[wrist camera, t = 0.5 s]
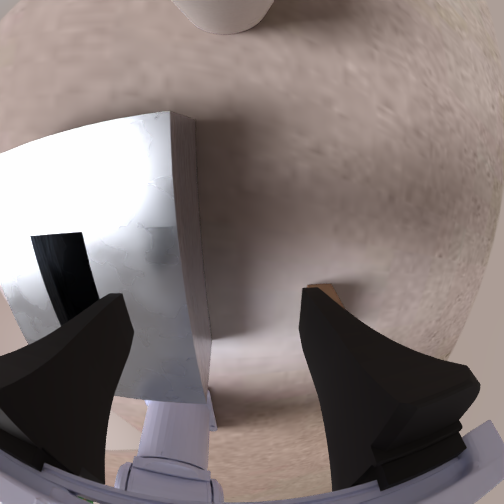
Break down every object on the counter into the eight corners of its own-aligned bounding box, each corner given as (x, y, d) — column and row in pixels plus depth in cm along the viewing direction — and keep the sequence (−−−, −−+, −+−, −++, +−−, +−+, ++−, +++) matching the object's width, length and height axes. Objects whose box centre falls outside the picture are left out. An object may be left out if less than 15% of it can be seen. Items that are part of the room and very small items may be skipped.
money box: (211, 340, 23) (206, 404, 17) (79, 332, 23) (50, 381, 16) (195, 119, 16) (169, 110, 10) (33, 150, 15) (-27, 166, 9)
